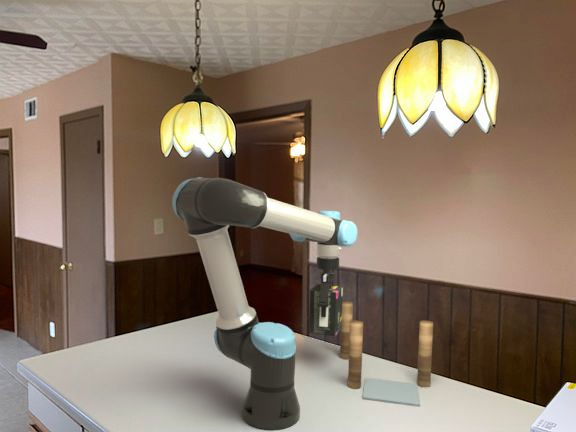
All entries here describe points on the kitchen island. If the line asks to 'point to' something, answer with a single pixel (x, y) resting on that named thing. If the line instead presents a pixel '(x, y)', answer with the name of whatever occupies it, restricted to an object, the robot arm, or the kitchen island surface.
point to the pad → (391, 391)
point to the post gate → (345, 329)
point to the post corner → (355, 354)
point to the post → (425, 353)
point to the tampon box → (333, 311)
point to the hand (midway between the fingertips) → (326, 321)
